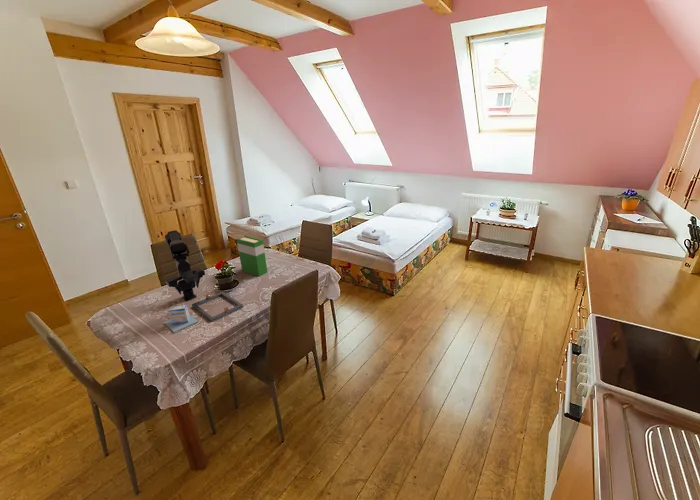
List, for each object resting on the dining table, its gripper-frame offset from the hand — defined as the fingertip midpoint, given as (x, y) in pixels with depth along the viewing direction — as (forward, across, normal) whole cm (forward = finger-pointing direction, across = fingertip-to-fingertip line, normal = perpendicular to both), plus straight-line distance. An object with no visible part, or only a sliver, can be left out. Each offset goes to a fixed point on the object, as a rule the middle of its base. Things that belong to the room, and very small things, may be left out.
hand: (189, 290), depth 174 cm
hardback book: (+12, +49, +16) cm, 53 cm away
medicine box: (+11, -10, -8) cm, 17 cm away
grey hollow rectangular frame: (+12, +10, -8) cm, 18 cm away
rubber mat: (+12, -10, -8) cm, 17 cm away
